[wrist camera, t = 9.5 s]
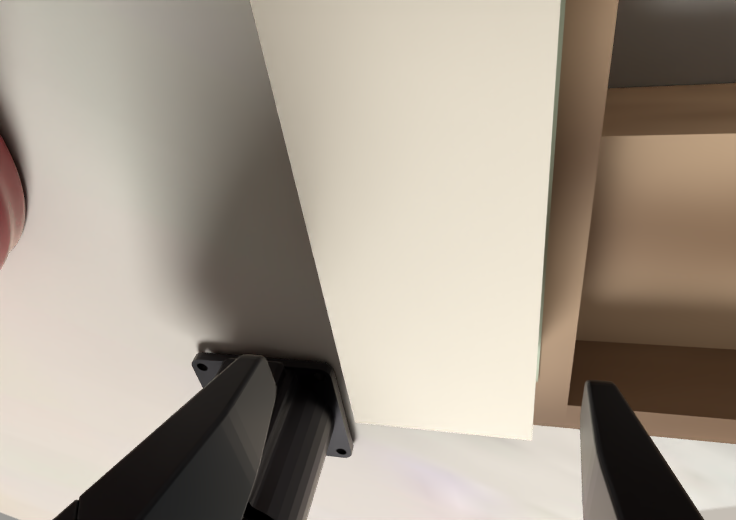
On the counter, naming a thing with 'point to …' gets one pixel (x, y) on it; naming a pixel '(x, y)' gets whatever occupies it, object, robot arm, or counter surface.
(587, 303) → the walnut pocket board
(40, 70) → the counter surface
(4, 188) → the canister
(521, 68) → the cream slat
